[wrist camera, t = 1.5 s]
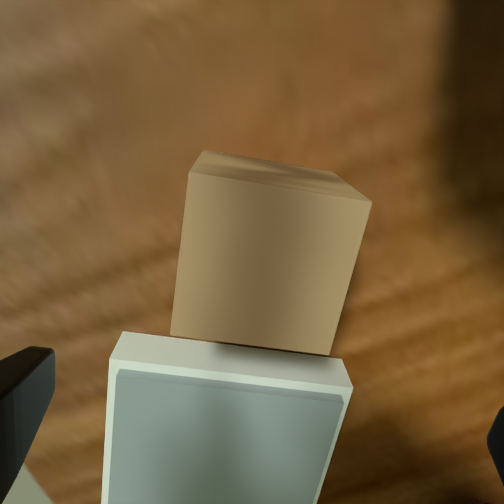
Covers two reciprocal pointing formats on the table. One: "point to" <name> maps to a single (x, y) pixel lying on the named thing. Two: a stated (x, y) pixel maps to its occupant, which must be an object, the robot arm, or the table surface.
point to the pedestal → (218, 423)
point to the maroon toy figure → (474, 501)
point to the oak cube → (265, 253)
